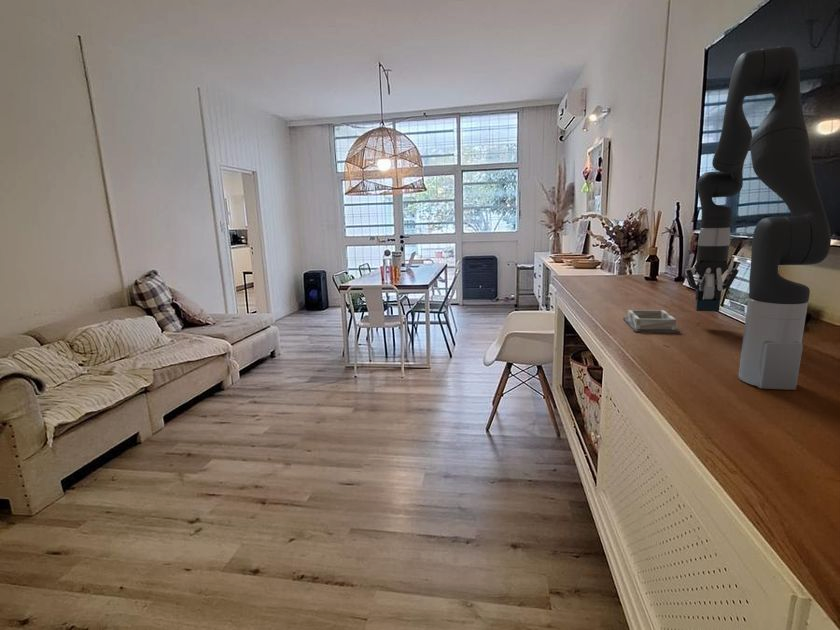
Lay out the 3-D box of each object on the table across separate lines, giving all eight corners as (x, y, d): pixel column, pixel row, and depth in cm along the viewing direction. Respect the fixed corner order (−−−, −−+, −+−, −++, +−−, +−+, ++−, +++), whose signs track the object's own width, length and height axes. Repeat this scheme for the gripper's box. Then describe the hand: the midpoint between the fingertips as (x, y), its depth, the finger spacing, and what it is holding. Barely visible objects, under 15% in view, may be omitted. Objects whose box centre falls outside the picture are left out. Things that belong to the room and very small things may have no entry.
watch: (716, 307, 131) (718, 271, 129) (720, 312, 124) (722, 274, 122) (694, 307, 134) (696, 271, 132) (696, 312, 127) (698, 274, 125)
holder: (680, 333, 125) (681, 321, 125) (634, 332, 128) (635, 320, 127) (663, 319, 140) (664, 308, 140) (623, 319, 143) (623, 308, 142)
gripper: (690, 245, 123) (685, 305, 127) (748, 244, 120) (740, 305, 124) (681, 243, 130) (676, 300, 134) (735, 242, 127) (729, 300, 131)
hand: (707, 302), depth 129 cm, fingers closed on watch, 3 cm apart
